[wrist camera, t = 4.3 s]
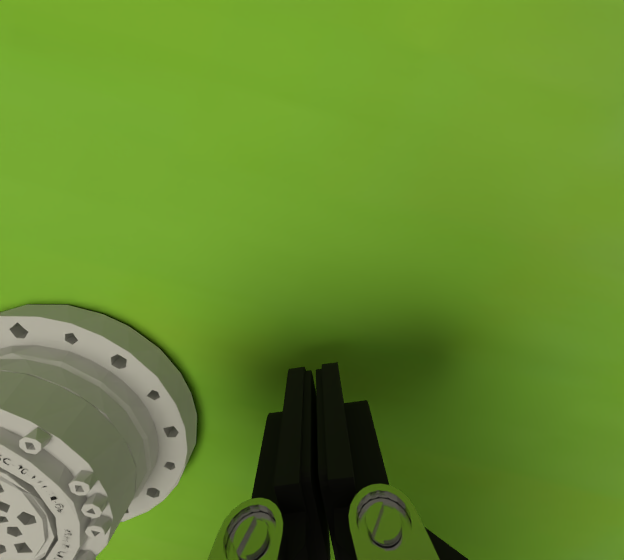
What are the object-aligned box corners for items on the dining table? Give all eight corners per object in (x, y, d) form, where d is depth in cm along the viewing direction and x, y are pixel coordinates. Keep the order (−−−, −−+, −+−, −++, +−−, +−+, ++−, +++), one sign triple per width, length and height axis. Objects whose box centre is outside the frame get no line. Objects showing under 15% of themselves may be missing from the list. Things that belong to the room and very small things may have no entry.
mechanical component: (9, 495, 14) (214, 491, 14) (-123, 628, 10) (171, 623, 10) (-80, 304, 11) (180, 296, 11) (-325, 374, 7) (96, 363, 7)
